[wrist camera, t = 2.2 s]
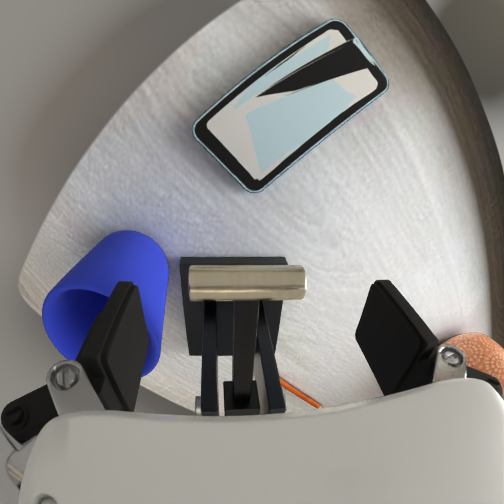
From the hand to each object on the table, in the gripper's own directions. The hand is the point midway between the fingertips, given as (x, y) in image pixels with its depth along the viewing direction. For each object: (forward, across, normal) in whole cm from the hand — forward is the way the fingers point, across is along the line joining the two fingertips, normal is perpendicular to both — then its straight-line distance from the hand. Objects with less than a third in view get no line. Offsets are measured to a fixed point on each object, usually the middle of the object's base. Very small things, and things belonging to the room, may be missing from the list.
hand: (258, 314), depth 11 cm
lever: (+3, 0, +5) cm, 6 cm away
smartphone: (+13, -4, -9) cm, 16 cm away
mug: (+13, +10, +6) cm, 18 cm away
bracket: (+13, 0, +10) cm, 16 cm away
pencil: (+13, -7, +24) cm, 28 cm away
